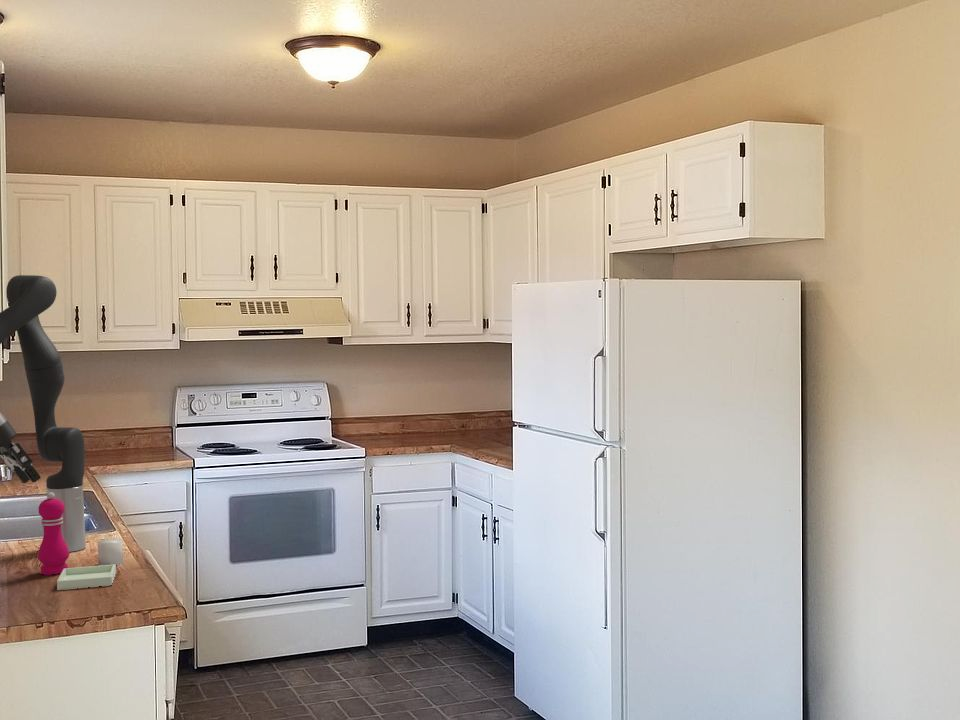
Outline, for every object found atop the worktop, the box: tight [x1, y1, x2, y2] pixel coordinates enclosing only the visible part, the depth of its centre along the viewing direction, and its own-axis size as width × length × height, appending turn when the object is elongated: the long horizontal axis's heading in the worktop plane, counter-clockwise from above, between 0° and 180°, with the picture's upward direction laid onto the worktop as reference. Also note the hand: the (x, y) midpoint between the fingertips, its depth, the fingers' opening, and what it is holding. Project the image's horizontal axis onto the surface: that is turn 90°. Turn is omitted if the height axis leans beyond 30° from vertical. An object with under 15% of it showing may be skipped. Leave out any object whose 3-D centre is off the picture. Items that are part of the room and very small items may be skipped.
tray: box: [56, 564, 117, 591], centre depth 257 cm, size 13×12×2 cm
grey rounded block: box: [97, 538, 124, 566], centre depth 274 cm, size 6×6×6 cm
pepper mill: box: [37, 492, 70, 576], centre depth 266 cm, size 7×7×20 cm
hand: (32, 480), depth 267 cm, fingers open, 8 cm apart
